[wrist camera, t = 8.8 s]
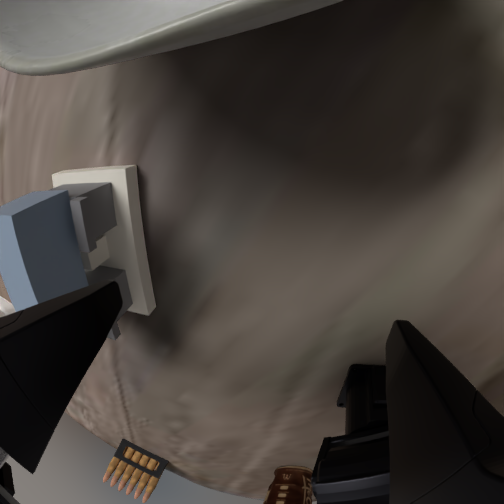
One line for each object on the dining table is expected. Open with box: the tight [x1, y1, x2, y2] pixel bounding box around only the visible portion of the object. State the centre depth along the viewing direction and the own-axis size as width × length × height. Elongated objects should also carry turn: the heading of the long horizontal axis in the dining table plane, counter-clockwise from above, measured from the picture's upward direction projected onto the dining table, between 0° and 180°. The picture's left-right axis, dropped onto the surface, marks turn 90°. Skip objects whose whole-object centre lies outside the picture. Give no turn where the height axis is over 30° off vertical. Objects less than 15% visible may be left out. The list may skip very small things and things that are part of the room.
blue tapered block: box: [0, 190, 89, 312], centre depth 17 cm, size 12×4×5 cm, turn 179°
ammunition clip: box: [103, 439, 168, 503], centre depth 42 cm, size 11×2×12 cm, turn 70°
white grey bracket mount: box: [48, 165, 156, 340], centre depth 21 cm, size 13×9×6 cm
